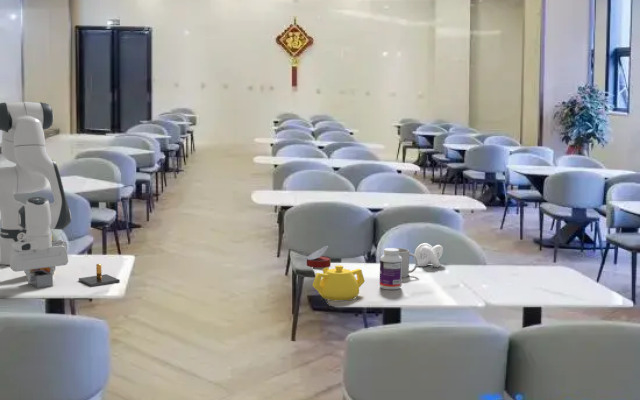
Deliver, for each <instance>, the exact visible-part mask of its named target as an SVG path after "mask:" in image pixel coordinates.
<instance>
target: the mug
mask: <svg viewBox="0 0 640 400" xmlns="http://www.w3.org/2000/svg"><path fill="white" fill-rule="evenodd" d="M395 248H396V249H399V254H398V255H399V256H401V257H402V278H407V277H409V274H411V273H413V272H414V271H416V269H417V267H418V265H417V258H416V257H415V255H414V253H412V252H410V249H407V248H404V247H403V248H402V247H395ZM410 256H411V257H413V260H414V259H415V260H414V262H415V261H416V262H415V266H414V267H413V269H410Z"/></svg>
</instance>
